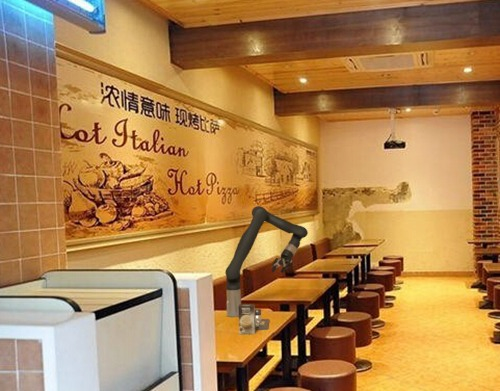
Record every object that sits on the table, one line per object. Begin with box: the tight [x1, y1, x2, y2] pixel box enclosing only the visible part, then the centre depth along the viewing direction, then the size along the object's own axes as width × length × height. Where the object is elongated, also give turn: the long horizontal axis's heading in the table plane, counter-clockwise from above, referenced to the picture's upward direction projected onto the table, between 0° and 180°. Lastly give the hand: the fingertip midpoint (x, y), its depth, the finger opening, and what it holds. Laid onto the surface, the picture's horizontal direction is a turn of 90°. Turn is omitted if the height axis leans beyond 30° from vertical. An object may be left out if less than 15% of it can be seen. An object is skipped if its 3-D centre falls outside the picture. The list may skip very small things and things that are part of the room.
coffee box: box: [238, 303, 256, 335], centre depth 333 cm, size 9×6×16 cm
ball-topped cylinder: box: [255, 308, 262, 324], centre depth 352 cm, size 4×4×8 cm
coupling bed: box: [255, 318, 270, 331], centre depth 352 cm, size 13×24×3 cm, turn 176°
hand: (276, 272), depth 373 cm, fingers open, 8 cm apart
